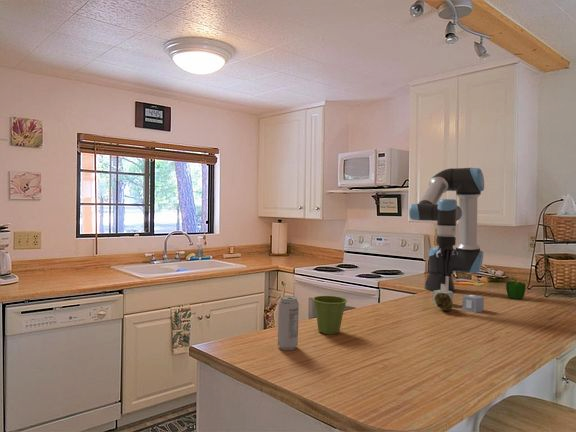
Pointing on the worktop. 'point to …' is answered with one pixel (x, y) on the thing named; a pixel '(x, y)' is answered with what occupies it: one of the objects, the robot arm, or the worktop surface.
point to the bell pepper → (515, 289)
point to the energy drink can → (288, 323)
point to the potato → (443, 301)
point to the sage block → (442, 292)
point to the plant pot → (329, 313)
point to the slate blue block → (473, 303)
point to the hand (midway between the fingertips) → (444, 291)
